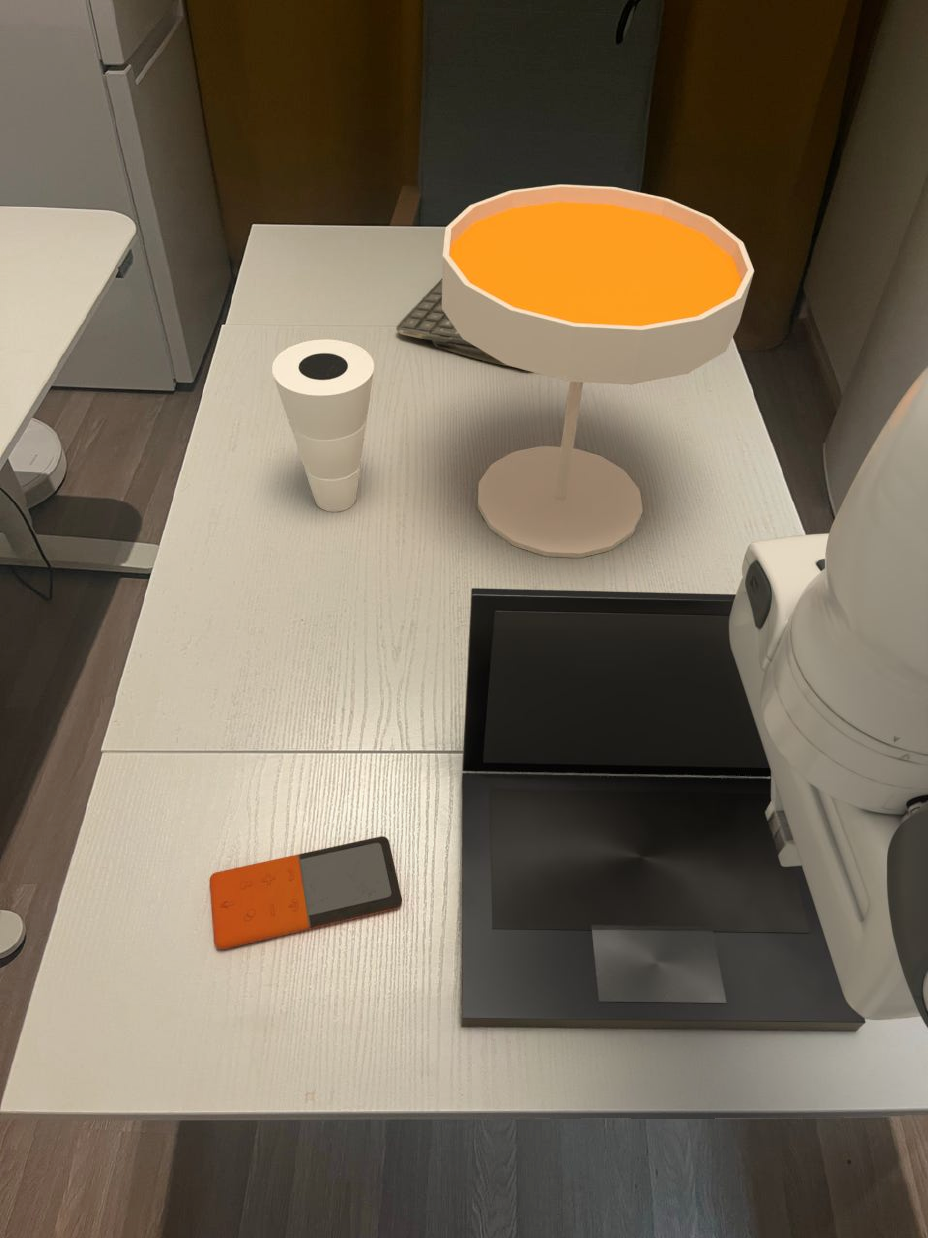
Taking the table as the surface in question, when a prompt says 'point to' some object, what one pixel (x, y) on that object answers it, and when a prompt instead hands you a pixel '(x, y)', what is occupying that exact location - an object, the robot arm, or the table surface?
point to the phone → (303, 892)
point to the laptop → (439, 327)
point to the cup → (327, 413)
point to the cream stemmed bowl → (586, 333)
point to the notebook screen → (606, 685)
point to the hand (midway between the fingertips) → (787, 839)
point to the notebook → (636, 908)
